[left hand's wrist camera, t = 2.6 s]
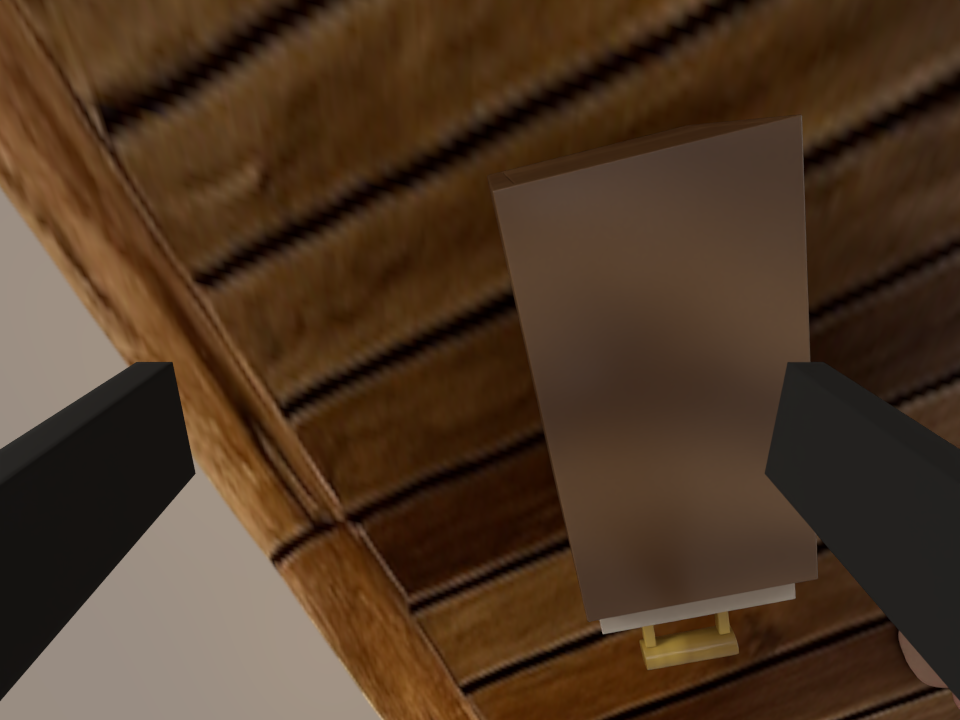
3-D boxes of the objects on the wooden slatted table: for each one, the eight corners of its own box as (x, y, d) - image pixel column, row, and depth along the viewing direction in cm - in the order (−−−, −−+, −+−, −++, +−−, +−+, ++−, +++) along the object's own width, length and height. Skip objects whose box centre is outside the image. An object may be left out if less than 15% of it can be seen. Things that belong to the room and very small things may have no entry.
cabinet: (722, 457, 36) (818, 579, 26) (556, 491, 37) (587, 622, 26) (688, 124, 29) (802, 113, 19) (486, 175, 30) (492, 190, 20)
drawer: (728, 570, 38) (800, 690, 29) (589, 596, 38) (621, 721, 30) (689, 189, 29) (775, 206, 21) (511, 232, 30) (525, 265, 22)
